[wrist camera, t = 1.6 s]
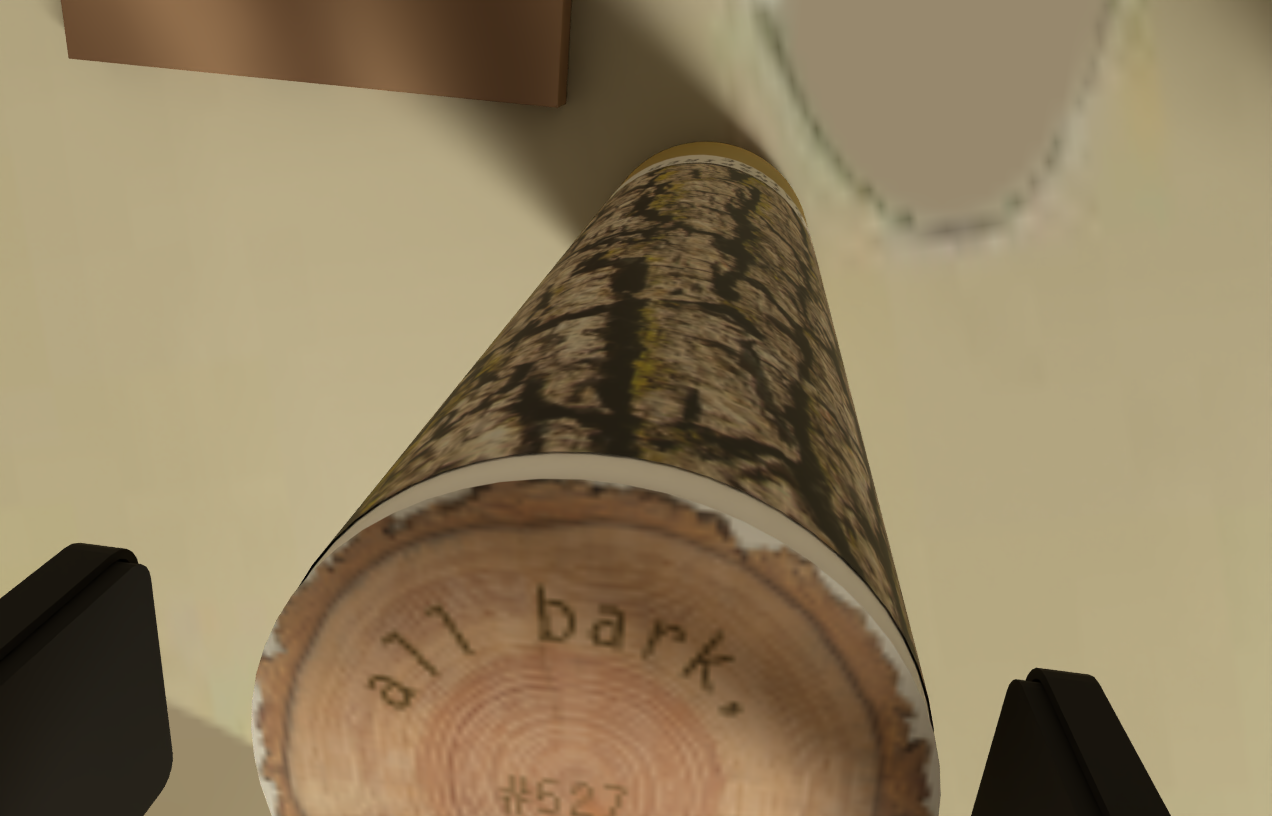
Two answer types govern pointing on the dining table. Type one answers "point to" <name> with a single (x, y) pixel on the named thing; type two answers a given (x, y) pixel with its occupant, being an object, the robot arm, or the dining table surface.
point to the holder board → (342, 42)
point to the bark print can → (620, 554)
